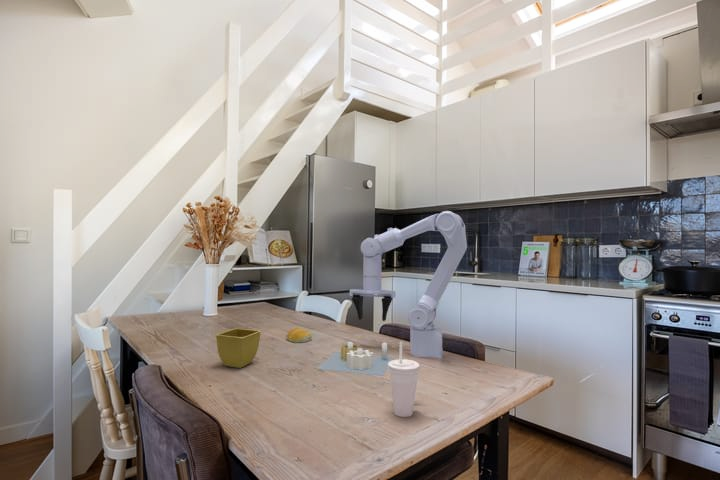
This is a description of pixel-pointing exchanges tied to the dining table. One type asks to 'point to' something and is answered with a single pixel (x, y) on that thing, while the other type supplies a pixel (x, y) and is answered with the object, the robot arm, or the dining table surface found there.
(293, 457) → the dining table surface
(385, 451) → the dining table surface
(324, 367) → the gear board
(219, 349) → the flower pot
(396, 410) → the smoothie
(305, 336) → the bread roll
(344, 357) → the brass gear
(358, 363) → the gear
